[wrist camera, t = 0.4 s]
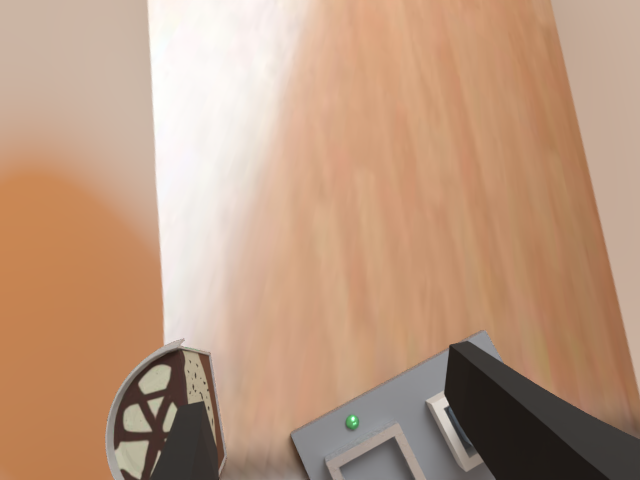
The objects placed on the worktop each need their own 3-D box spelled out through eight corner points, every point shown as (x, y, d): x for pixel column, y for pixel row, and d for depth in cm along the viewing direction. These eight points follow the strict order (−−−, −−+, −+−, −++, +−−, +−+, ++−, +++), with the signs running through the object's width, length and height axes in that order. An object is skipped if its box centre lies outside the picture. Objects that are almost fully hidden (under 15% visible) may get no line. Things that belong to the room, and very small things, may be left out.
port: (425, 484, 35) (432, 492, 33) (355, 525, 34) (358, 536, 32) (383, 397, 36) (387, 400, 35) (314, 434, 35) (315, 439, 34)
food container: (143, 351, 37) (88, 358, 28) (207, 337, 38) (175, 338, 28) (160, 492, 35) (106, 554, 25) (229, 474, 35) (202, 528, 26)
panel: (546, 447, 37) (552, 450, 36) (349, 566, 34) (350, 573, 33) (480, 330, 39) (485, 330, 38) (291, 432, 36) (290, 435, 35)
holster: (522, 427, 36) (533, 431, 35) (458, 465, 35) (466, 472, 34) (488, 365, 38) (497, 367, 36) (425, 400, 37) (431, 404, 35)
